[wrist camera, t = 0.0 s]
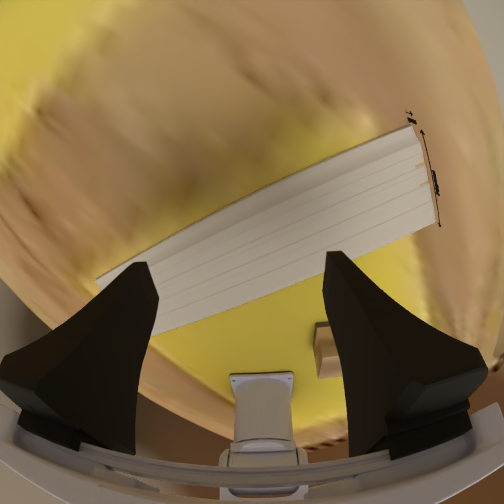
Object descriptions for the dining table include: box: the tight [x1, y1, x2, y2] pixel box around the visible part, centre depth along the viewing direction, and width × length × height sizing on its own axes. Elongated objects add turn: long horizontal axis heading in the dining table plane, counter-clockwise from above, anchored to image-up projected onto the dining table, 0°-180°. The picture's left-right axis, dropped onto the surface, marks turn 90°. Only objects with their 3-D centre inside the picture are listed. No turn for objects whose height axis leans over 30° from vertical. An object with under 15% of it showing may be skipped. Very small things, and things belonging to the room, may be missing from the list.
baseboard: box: [95, 111, 441, 336], centre depth 22 cm, size 30×3×10 cm
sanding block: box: [313, 321, 343, 379], centre depth 27 cm, size 4×6×4 cm, turn 94°
